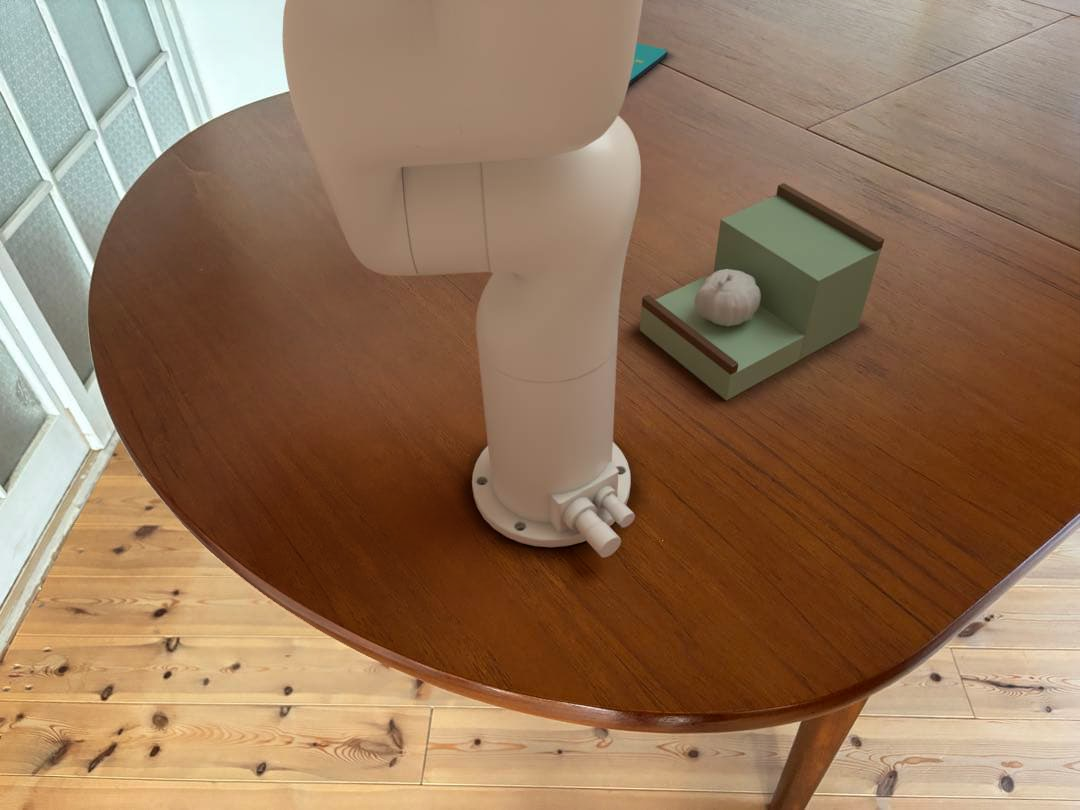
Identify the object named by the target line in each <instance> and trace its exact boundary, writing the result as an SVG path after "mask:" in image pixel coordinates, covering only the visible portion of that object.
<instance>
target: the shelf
mask: <svg viewBox="0 0 1080 810" xmlns="http://www.w3.org/2000/svg"><path fill="white" fill-rule="evenodd" d="M884 242H885V238H883V237H881V236H879V235H878V234H877V233H874V232H872V231H871V230H869V229H867V228H866V227H864V226H861V225H860V224H858V223H856V222H855V221H853V220H851V219H849V218H848V217H846V216H844V215H843V214H840V213H838V212H837V211H835V210H833V209H831V208H829V207H828V206H826V205H824V204H823V203H820V202H819V201H817V200H815V199H814V198H812V197H810V196H808V195H806V194H805V193H802V192H801V191H799V190H797V189H796V188H794V187H792V186H791V185H788V184H787V183H785V182H782V183H780V184H779V185H777V189H776V194H775V195H773V196H771V197H768V198H766V199H764V200H762V201H758V202H757V203H754V204H753V205H750V206H748V207H746V208H743V209H741V210H739V211H737V212H734V213H732V214H729V215H728V216H725V217H723V218H721V219H720V221H719V228H718V238H717V243H716V251H715V258H714V259H715V260H714V265H713V272H711V273H709V274H707V275H705V276H703V277H700V278H697V279H696V280H694V281H692V282H689V283H687V284H686V285H684V286H681V287H679V288H677V289H675V290H673V291H670V292H668V293H667V294H664V295H662V296H659V297H657V298H656V299H655V298H654V297H653V296H651V295H650V294H647V295H644V296H643V297H642V299H641V309H640V323H639V324H640V325H639V331H640V332H641V333H642V334H643V335H645V336H646V337H647V338H648V339H650V340H651V341H652V342H653V343H655V345H657V346H658V347H660V348H661V349H663V351H665V352H666V353H667V354H668V355H670V356H671V357H672V358H673V359H674V360H675V361H676V362H678V363H679V364H681V366H683V367H684V368H685V369H687V370H688V371H689V372H690V373H692V374H693V375H694V376H695V377H697V378H698V379H699V380H700V381H701V382H703V383H704V384H705V385H706V386H707V387H709V388H710V389H711V390H713V391H714V392H715V393H716V394H718V395H719V396H720V397H721V398H722V399H723V400H725V401H728V400H730V399H732V398H734V397H736V396H737V395H740V394H741V393H743V392H745V391H746V390H748V389H750V388H752V387H754V386H755V385H757V384H759V383H761V382H763V381H765V380H766V379H769V378H770V377H772V376H774V375H776V374H777V373H779V372H781V371H783V370H785V369H787V368H788V367H790V366H792V365H794V364H795V363H797V362H799V361H800V360H802V359H804V358H806V357H809V356H810V355H811V354H813V353H815V352H817V351H819V350H820V349H823V348H824V347H826V346H828V345H830V344H831V343H833V342H835V341H837V340H839V339H840V338H842V337H844V336H845V335H847V334H849V333H852V332H853V331H855V330H857V329H858V328H859V326H860V323H861V319H862V316H863V312H864V308H865V307H866V302H867V300H868V295H869V293H870V289H871V286H872V282H873V279H874V275H875V272H876V269H877V266H878V262H879V259H880V255H881V252H882V248H883V245H884ZM724 269H730V270H738V271H742V272H744V273H745V274H748V275H750V276H752V277H753V278H754V279H755V281H756V285H757V286H758V288H759V289H760V293H761V300H760V304H759V307H758V309H757V310H756V311H755V312H754V313H753V316H752V318H751V319H750V320H748V321H744V322H742V323H741V324H739V325H734V326H728V327H727V326H721V325H718V324H715V323H713V322H712V321H709V320H707V319H705V318H703V317H701V316H700V315H699V314H698V312H697V311H696V308H695V304H694V299H695V296H696V294H697V292H698V291H699V290H700V289H701V285H702V283H703V282H704V280H705V279H706V278H708V277H710V276H711V275H712V274H713V273H714V272H717V271H719V270H724Z"/></svg>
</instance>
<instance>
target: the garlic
mask: <svg viewBox="0 0 1080 810" xmlns="http://www.w3.org/2000/svg"><path fill="white" fill-rule="evenodd" d="M713 272H714V271H713ZM713 272H712V273H713ZM760 300H761V293H760V289H759V288H758V286H757V285H756V281H755V279H754V278H753V277H752V276H750V275H748V274H745V273H744V272H742V271H738V270H730V269H724V270H719V271H717V272H714V273H713V274H712V275H711V276H710V277H708V278H706V279H705V280H704V282H703V283H702V285H701V289H700V290H699V291H698V292H697V294H696V296H695V299H694V304H695V308H696V311H697V312H698V314H699V315H700V316H701V317H703V318H705V319H707V320H709V321H712V322H713V323H715V324H718V325H721V326H727V327H728V326H734V325H739V324H741V323H742V322H744V321H748V320H750V319H751V318H752V316H753V313H754V312H755V311H756V310H757V309H758V307H759V304H760Z"/></svg>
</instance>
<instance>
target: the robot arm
mask: <svg viewBox="0 0 1080 810" xmlns="http://www.w3.org/2000/svg"><path fill="white" fill-rule="evenodd" d="M643 2H644V0H285V3H284V8H283V16H282V17H283V18H282V33H281V34H282V37H281V38H282V54H283V61H284V69H285V70H284V71H285V76H286V81H287V86H288V90H289V95H290V100H291V103H292V108H293V110H294V114H295V117H296V120H297V124H298V126H299V129H300V132H301V135H302V138H303V140H304V143H305V145H306V148H307V151H308V153H309V155H310V157H311V160H312V162H313V165H314V167H315V169H316V172H317V175H318V177H319V180H320V182H321V184H322V187H323V189H324V191H325V193H326V195H327V198H328V201H329V203H330V206H331V207H332V210H333V213H334V215H335V218H336V220H337V222H338V225H339V227H340V229H341V231H342V234H343V236H344V238H345V240H346V243H347V245H348V246H349V249H350V250H351V252H352V253H353V255H354V256H355V258H356V259H357V261H358V262H359V263H360V264H361V265H363V266H364V267H365V268H367V269H368V270H370V271H372V272H374V273H376V274H380V275H384V276H391V277H393V276H394V277H419V276H420V277H423V276H440V275H443V276H444V275H460V274H476V273H477V274H479V273H490V274H491V276H490V277H489V279H488V281H487V283H486V285H485V286H484V289H483V291H482V293H481V295H480V299H479V301H478V304H477V308H476V313H475V314H476V316H475V334H476V343H477V344H476V345H477V354H478V365H479V374H480V384H481V393H482V403H483V412H484V413H483V414H484V421H485V431H486V441H487V445H486V447H485V448H484V449H483V450H482V451H481V452H480V455H479V456H478V458H477V460H476V462H475V464H474V468H473V470H472V476H471V478H472V479H471V486H472V495H473V499H474V502H475V505H476V509H477V510H478V512H479V513H480V515H481V516H482V518H483V520H484V521H486V523H487V524H489V526H491V528H493V529H494V530H495V531H497V532H498V533H499V534H501V535H503V536H504V537H506V538H508V539H510V540H514V541H515V542H518V543H520V544H525V545H529V546H533V547H540V548H541V547H543V548H558V547H559V548H560V547H568V546H572V545H577V544H580V543H581V544H582V543H584V542H587V544H589V545H590V546H591V548H592V549H593V550H594V551H595V552H596V553H597V554H598V555H599V557H601V558H603V559H604V558H608V557H610V556H612V555H613V554H615V553H616V552H617V551H618V549H619V548H620V547H621V543H622V539H621V537H620V536H619V535H618V534H617V533H616V531H614V530H613V529H612V527H611V526H612V525H613V524H615V522H616V524H617V525H619V526H620V528H623V529H624V528H627V527H629V526H630V525H631V524H632V523H633V522H634V520H635V518H636V515H635V513H634V512H633V510H631V509H630V507H628V505H627V504H628V501H629V499H630V494H631V493H630V492H631V484H632V483H631V482H632V481H631V478H632V477H631V469H630V467H629V463H628V460H627V459H626V457H625V454H624V453H623V451H622V450H621V449H620V448H619V446H618V445H617V444H616V443H615V442H614V426H615V403H616V402H615V401H616V382H617V360H618V359H617V358H618V338H619V320H620V319H619V317H620V316H619V315H620V303H621V289H622V282H623V274H624V269H625V262H626V258H627V253H628V248H629V245H630V241H631V236H632V230H633V227H634V223H635V219H636V215H637V211H638V207H639V199H640V194H641V185H642V162H641V155H640V149H639V145H638V143H637V140H636V138H635V135H634V133H633V131H632V129H631V127H630V126H629V125H628V124H627V123H626V121H625V120H624V119H623V118H622V117H621V116H620V115H619V114H620V112H621V110H622V108H623V105H624V102H625V99H626V96H627V92H628V88H629V86H628V84H629V81H630V76H631V71H632V67H633V62H634V56H635V49H636V43H638V36H639V30H640V23H641V16H642V12H643V11H642V9H643V4H644V3H643Z"/></svg>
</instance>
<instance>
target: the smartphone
mask: <svg viewBox="0 0 1080 810" xmlns="http://www.w3.org/2000/svg"><path fill="white" fill-rule="evenodd" d="M668 53H669V51H668V50H667V49H666V48H661V47H656V46H652V45H648V44H642V43H638V42H637V43H636V49H635V56H634V62H633V67H632V71H631V76H630V81H629V84H628V87H630V86H631V85H632V84H633V83H635V82H636V81H638V80H639V79H640V78H641V77H643V76H644V75H645V74H646V73H647V72H649V71H650V70H651V69H653V68H654V67H655V66H656V65H658V64H659V63H661V62H662V61H663V60H664V59H666V58H667V57H668Z"/></svg>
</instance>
